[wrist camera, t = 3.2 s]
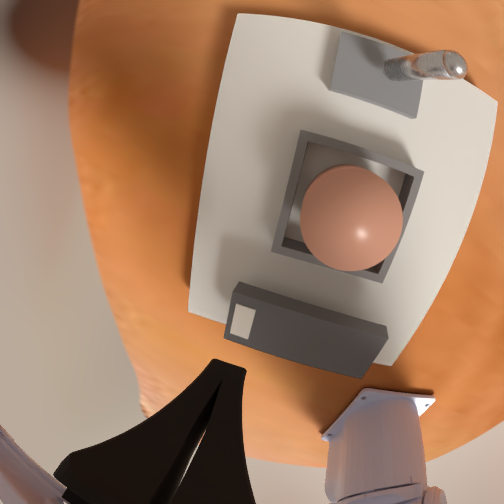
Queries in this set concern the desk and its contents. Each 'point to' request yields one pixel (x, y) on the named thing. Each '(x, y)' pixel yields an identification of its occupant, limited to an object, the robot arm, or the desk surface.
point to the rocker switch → (303, 331)
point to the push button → (350, 218)
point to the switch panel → (324, 156)
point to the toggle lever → (426, 66)
